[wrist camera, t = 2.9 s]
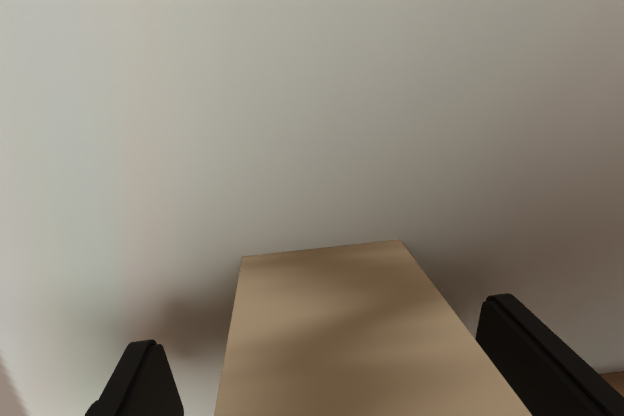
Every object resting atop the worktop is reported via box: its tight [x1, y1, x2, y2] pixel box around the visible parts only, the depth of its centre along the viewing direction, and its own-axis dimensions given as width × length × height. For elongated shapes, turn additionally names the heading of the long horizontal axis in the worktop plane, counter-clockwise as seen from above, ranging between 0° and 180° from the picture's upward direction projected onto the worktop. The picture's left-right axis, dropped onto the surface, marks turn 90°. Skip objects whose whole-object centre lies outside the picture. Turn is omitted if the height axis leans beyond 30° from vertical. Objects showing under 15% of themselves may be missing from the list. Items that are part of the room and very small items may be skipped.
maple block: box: [214, 240, 532, 416], centre depth 8 cm, size 5×5×6 cm
